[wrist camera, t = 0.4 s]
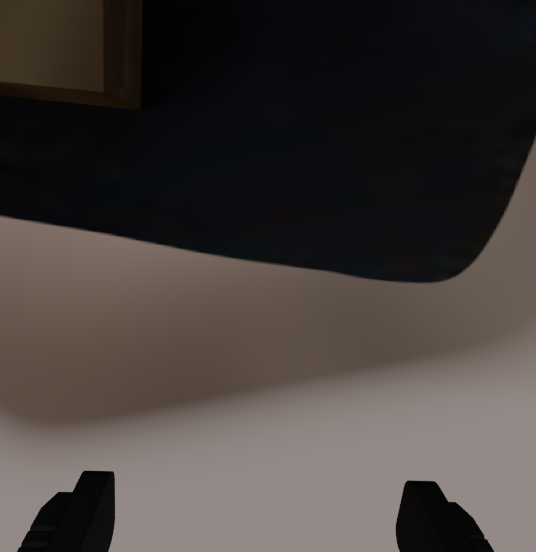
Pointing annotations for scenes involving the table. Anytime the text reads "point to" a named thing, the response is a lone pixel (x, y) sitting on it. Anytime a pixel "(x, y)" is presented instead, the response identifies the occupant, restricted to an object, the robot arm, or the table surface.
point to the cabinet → (72, 51)
